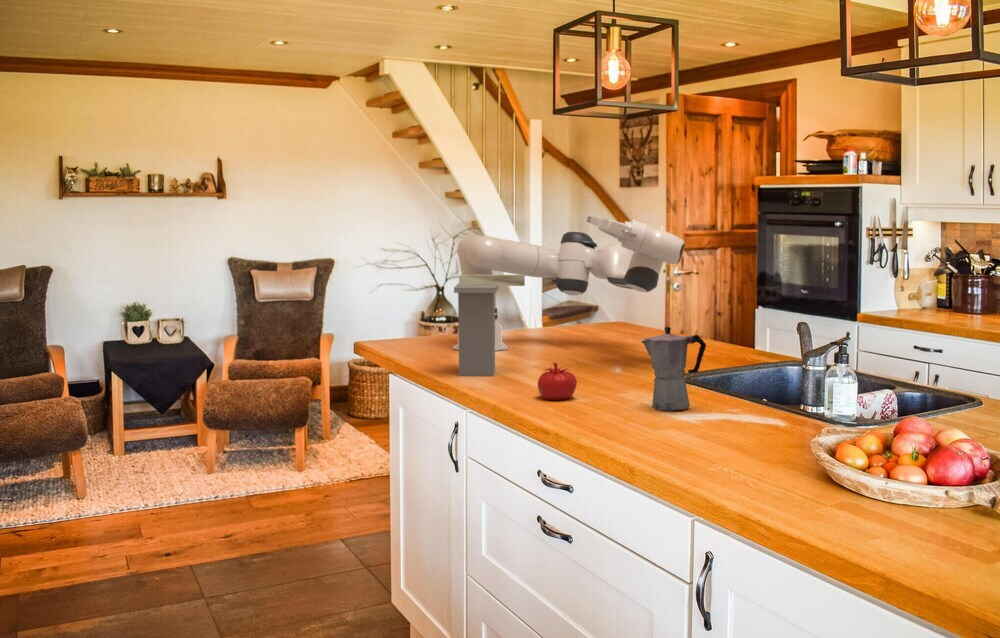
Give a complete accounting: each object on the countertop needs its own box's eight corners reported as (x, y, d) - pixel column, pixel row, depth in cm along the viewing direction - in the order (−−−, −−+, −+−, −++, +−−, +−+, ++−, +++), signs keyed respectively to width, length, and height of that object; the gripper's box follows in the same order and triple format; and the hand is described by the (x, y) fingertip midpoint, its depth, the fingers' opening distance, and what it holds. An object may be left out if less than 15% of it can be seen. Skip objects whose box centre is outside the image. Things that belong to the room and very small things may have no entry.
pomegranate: (579, 402, 238) (579, 366, 236) (539, 402, 237) (540, 366, 235) (572, 393, 247) (573, 359, 246) (535, 394, 247) (535, 359, 245)
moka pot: (639, 403, 235) (640, 324, 233) (701, 404, 234) (703, 324, 231) (641, 411, 226) (642, 329, 223) (706, 412, 224) (708, 329, 222)
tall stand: (459, 368, 285) (458, 283, 282) (498, 368, 284) (498, 283, 281) (455, 377, 271) (454, 287, 268) (496, 377, 271) (496, 287, 267)
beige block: (460, 284, 276) (460, 274, 276) (524, 284, 276) (524, 274, 275) (459, 285, 273) (459, 275, 273) (524, 285, 272) (524, 275, 272)
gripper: (633, 246, 268) (588, 229, 268) (623, 243, 289) (581, 228, 288) (641, 225, 268) (596, 208, 267) (631, 224, 288) (589, 208, 287)
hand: (588, 218), depth 278 cm, fingers open, 8 cm apart
